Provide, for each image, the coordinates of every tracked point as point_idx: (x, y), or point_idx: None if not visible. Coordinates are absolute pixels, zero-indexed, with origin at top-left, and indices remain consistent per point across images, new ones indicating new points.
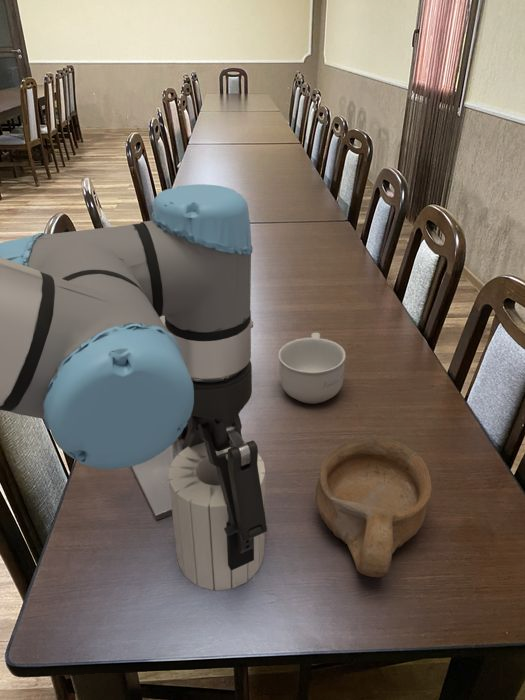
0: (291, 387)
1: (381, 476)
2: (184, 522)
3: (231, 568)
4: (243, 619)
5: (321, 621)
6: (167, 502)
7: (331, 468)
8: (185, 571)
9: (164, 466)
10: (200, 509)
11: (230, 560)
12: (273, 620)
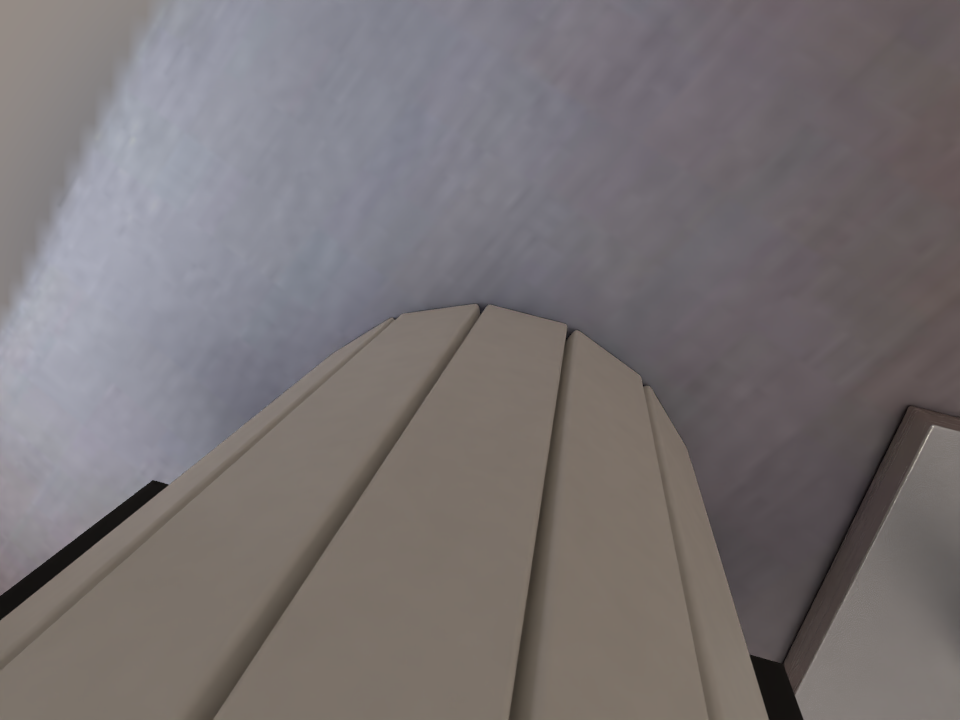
0: None
1: None
2: (204, 566)
3: (142, 491)
4: (150, 359)
5: (11, 546)
6: (952, 530)
7: None
8: (459, 315)
9: None
10: None
11: (96, 528)
12: (91, 438)
